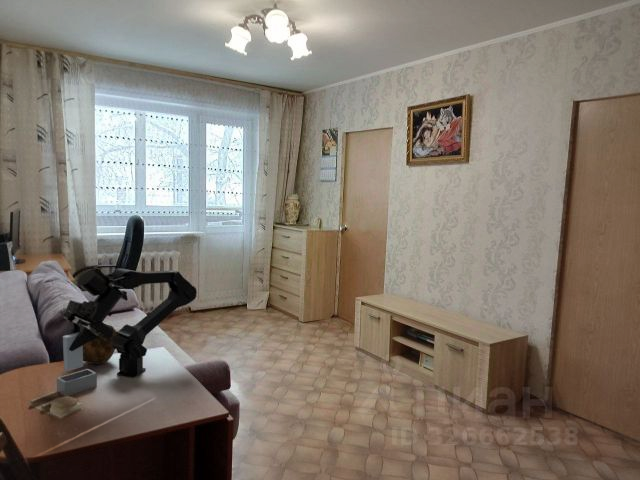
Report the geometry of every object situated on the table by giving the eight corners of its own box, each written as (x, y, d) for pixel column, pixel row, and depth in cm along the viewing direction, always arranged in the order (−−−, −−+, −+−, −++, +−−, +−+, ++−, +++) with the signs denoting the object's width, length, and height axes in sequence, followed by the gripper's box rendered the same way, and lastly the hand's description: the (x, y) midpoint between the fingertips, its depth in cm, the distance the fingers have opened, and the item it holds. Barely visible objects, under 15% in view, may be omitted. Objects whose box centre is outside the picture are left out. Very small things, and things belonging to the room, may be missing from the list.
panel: (79, 364, 137) (78, 332, 136) (83, 366, 136) (82, 333, 135) (64, 369, 134) (62, 336, 132) (67, 371, 132) (66, 337, 131)
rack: (53, 396, 132) (53, 385, 132) (84, 410, 126) (84, 398, 125) (28, 406, 126) (27, 394, 126) (59, 421, 120) (59, 409, 119)
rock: (122, 357, 163) (122, 316, 161) (103, 372, 150) (103, 327, 148) (87, 355, 163) (86, 314, 161) (65, 369, 151) (64, 325, 149)
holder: (88, 382, 142) (88, 368, 141) (96, 387, 139) (96, 373, 139) (56, 392, 135) (56, 377, 134) (65, 398, 132) (65, 382, 131)
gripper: (68, 284, 140) (30, 328, 133) (102, 295, 130) (63, 343, 122) (94, 303, 148) (59, 346, 140) (128, 315, 137) (93, 362, 130)
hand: (68, 349), depth 133 cm, fingers closed on panel, 2 cm apart
